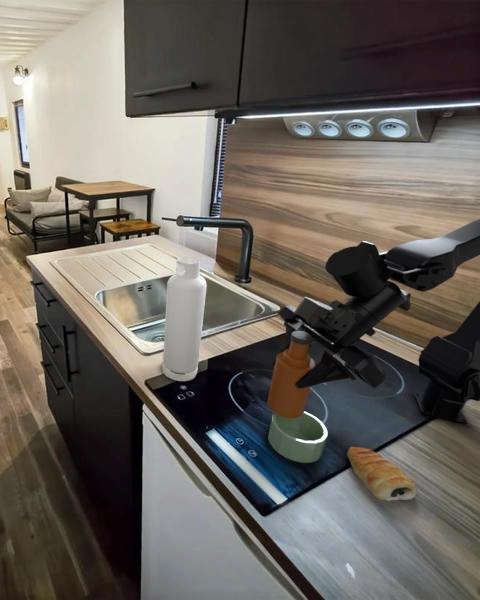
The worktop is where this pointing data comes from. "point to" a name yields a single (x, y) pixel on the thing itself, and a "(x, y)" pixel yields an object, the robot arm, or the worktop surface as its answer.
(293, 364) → the amber bottle
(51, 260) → the worktop surface
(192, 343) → the bottle
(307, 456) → the green bowl
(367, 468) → the pastry
